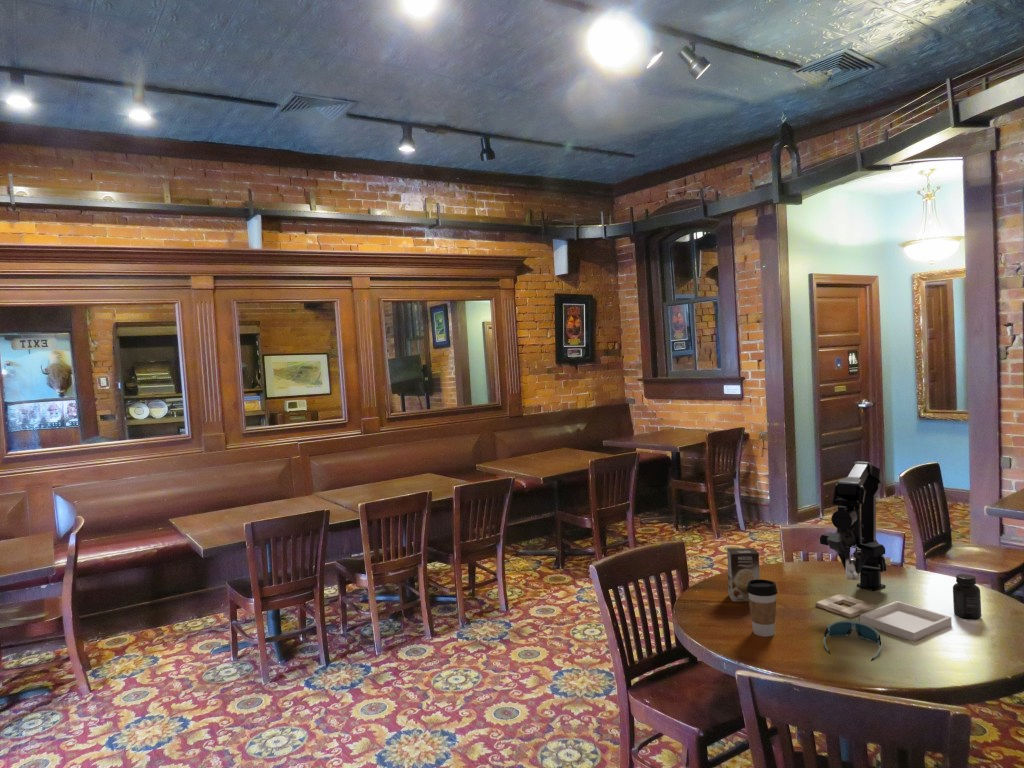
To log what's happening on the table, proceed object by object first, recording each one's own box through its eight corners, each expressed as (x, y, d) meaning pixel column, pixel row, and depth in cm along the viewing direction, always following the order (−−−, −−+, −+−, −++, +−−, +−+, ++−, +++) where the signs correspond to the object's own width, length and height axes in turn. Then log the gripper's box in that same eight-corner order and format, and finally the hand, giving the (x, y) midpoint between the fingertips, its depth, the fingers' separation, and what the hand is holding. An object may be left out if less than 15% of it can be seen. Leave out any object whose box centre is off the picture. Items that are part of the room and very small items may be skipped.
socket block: (840, 597, 222) (840, 593, 222) (875, 608, 212) (874, 604, 211) (815, 606, 216) (815, 602, 216) (850, 617, 206) (850, 614, 206)
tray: (897, 608, 210) (897, 600, 210) (951, 625, 196) (951, 617, 196) (860, 623, 202) (860, 614, 202) (914, 641, 188) (913, 632, 188)
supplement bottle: (983, 615, 202) (982, 575, 202) (979, 622, 197) (978, 581, 197) (956, 610, 207) (954, 571, 206) (951, 617, 202) (950, 577, 201)
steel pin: (851, 575, 213) (850, 556, 213) (861, 578, 210) (860, 559, 210) (843, 577, 212) (842, 558, 212) (853, 581, 209) (853, 561, 208)
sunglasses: (882, 640, 191) (881, 623, 190) (880, 670, 178) (880, 652, 177) (827, 632, 198) (826, 616, 197) (821, 660, 185) (820, 643, 184)
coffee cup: (764, 641, 194) (762, 589, 193) (742, 631, 201) (740, 581, 201) (785, 633, 198) (783, 583, 197) (762, 624, 205) (760, 575, 204)
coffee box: (732, 602, 224) (730, 553, 223) (728, 595, 230) (726, 548, 229) (761, 601, 223) (759, 553, 222) (756, 594, 229) (754, 547, 228)
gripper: (806, 520, 215) (808, 569, 216) (861, 532, 198) (863, 585, 199) (830, 514, 220) (832, 562, 221) (885, 526, 203) (887, 577, 204)
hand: (852, 571), depth 211 cm, fingers closed on steel pin, 4 cm apart
